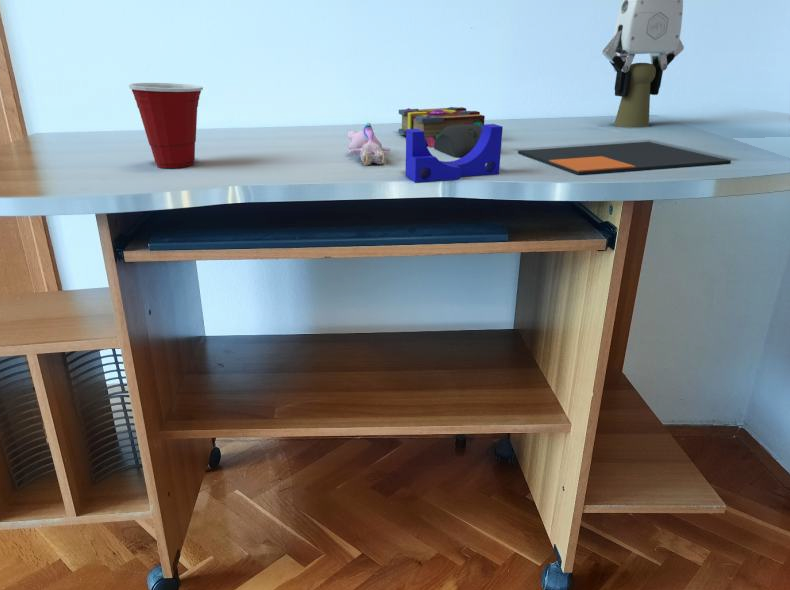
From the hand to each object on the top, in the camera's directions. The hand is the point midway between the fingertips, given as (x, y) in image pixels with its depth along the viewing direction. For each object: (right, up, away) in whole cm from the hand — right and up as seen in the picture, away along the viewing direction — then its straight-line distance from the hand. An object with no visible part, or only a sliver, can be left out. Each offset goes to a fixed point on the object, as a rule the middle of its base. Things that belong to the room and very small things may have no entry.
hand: (636, 94), depth 115 cm
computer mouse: (-34, -15, -13) cm, 39 cm away
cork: (0, -5, +3) cm, 6 cm away
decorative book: (-36, -9, -1) cm, 37 cm away
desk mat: (-14, -18, -23) cm, 33 cm away
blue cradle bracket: (-39, -23, -30) cm, 54 cm away
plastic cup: (-79, -17, -15) cm, 83 cm away
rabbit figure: (-50, -17, -17) cm, 55 cm away
